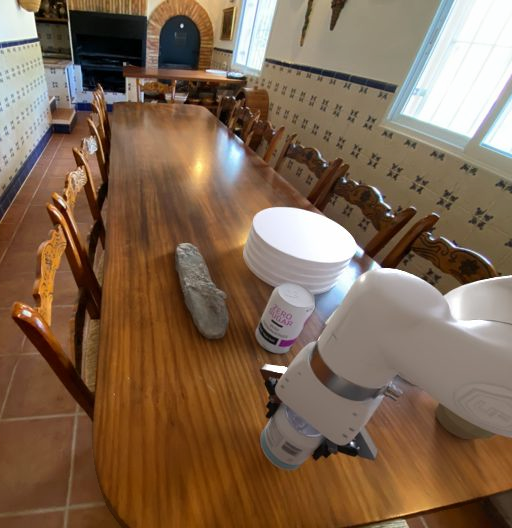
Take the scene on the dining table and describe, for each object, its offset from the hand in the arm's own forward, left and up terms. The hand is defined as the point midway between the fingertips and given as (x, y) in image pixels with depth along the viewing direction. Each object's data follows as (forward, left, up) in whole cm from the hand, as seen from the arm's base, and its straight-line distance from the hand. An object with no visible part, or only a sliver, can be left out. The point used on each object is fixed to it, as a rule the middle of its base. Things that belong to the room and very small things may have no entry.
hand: (294, 430), depth 45 cm
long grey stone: (+35, -19, -8) cm, 41 cm away
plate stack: (+25, -50, -8) cm, 56 cm away
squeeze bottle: (-20, -30, -8) cm, 37 cm away
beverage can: (0, 0, -7) cm, 7 cm away
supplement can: (+13, -20, -8) cm, 25 cm away
